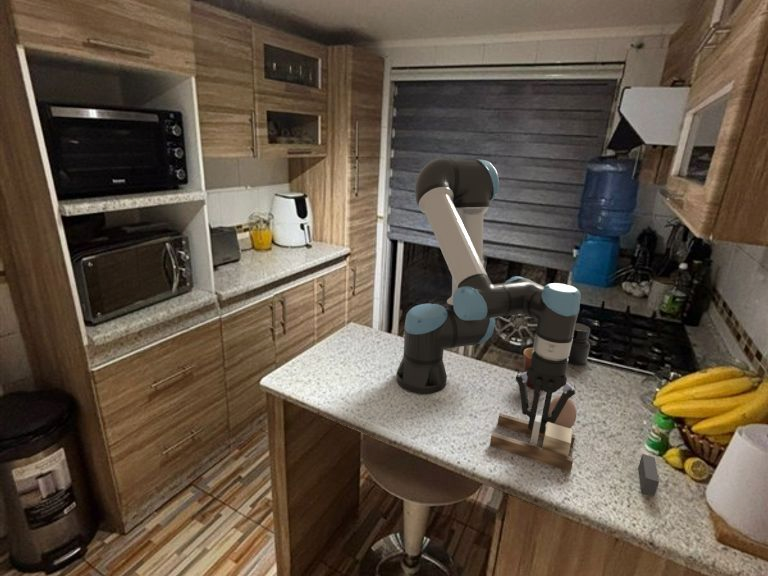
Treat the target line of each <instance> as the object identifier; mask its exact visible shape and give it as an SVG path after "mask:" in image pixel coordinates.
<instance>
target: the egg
mask: <svg viewBox="0 0 768 576" xmlns="http://www.w3.org/2000/svg"><path fill="white" fill-rule="evenodd" d="M560 397H561V395H558V396H556V397H554V398H553V399H551V402H550V407H549V412H548V414H551V413H552V411H553V409H554V408H555V406H556V404H557V402H558V400H559V399H560ZM576 420H577V409H576V405H575V402H574V401H573V400H572V399H571V397H570V398H569V399H568V400H567V402H566V404H565V406H564V407H563V409H562V411H561V413H560V414H559V416H558V418H557V420H556V421H555V423H553V424H557V425H560V426H563V427H567V428H570V429H572V428H573V426H574V425H575V422H576ZM550 423H551V422H550Z"/></svg>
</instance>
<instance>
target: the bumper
mask: <svg viewBox="0 0 768 576" xmlns="http://www.w3.org/2000/svg"><path fill="white" fill-rule="evenodd" d="M637 469H638V480H639V487H640V493H641V494H644V495H648V496H650V497H652V498H653V497H655V496H656V493H657V489H658V486H659V483H660V479H659V473H658V467H657V462H656V458H655V457H654V456H651V455H648V454H644V453H641V456H640V460H639V463H638V467H637Z"/></svg>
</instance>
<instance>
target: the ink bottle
mask: <svg viewBox="0 0 768 576" xmlns="http://www.w3.org/2000/svg"><path fill="white" fill-rule="evenodd" d="M590 333H591V328H590V327H589V326H588V325H586V324H584V323H583V324H582V323H578V322H576V324H575V329H574V333H573V340H572V345H571V350H570V355H569V357H568V364H571V365H575V366H576V365H577V366H582V365H585V364H586V363H587V361H588V358H589V354H590V348H591V344H590V342H589V341H588V340H589V338H590Z"/></svg>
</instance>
